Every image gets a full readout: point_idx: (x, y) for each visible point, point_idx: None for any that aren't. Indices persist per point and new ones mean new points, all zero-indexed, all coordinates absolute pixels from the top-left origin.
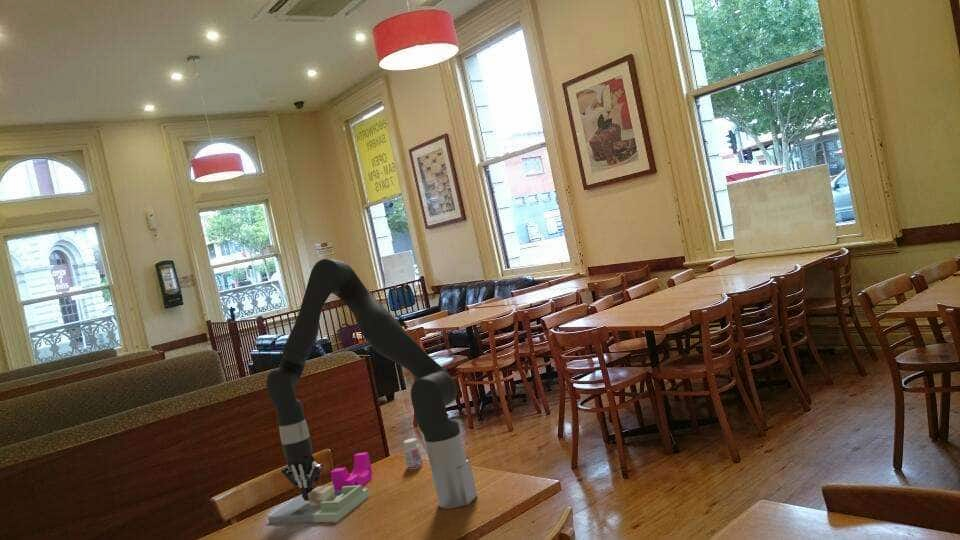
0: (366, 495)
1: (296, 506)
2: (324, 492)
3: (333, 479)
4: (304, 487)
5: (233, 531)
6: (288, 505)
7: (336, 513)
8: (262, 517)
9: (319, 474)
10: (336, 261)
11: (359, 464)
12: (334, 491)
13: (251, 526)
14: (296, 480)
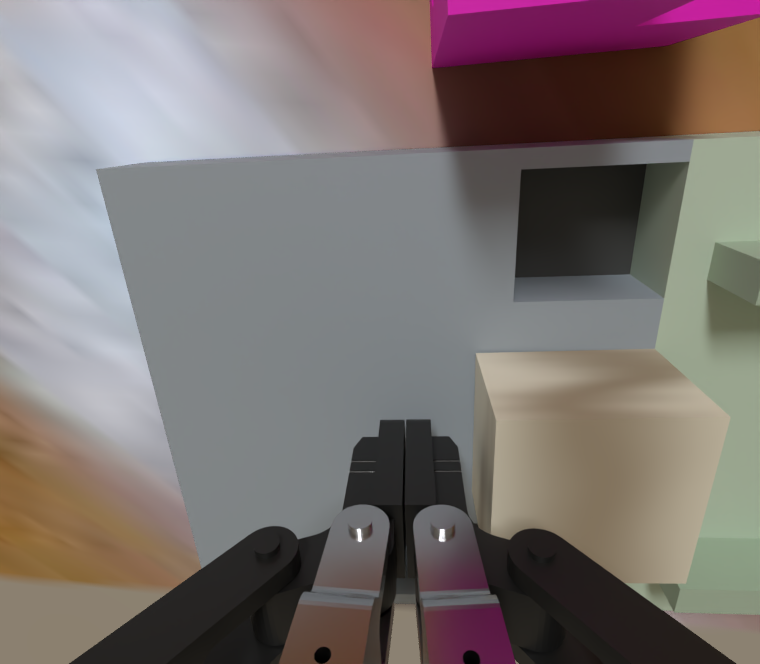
0: None
1: (316, 473)
2: (687, 554)
3: (466, 36)
4: (403, 564)
5: (22, 579)
6: (207, 449)
7: None
8: (22, 434)
9: (680, 631)
10: None
11: None
12: (689, 384)
13: (84, 538)
14: (270, 630)
